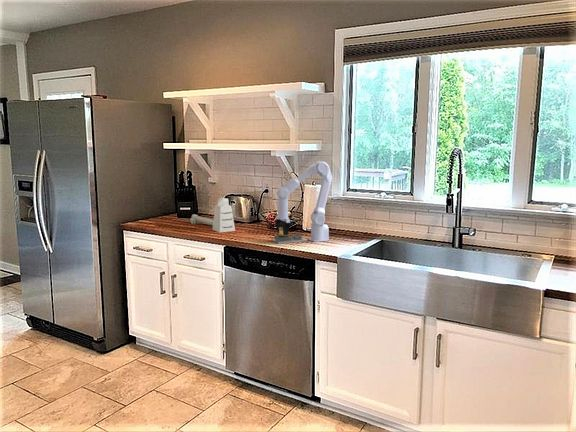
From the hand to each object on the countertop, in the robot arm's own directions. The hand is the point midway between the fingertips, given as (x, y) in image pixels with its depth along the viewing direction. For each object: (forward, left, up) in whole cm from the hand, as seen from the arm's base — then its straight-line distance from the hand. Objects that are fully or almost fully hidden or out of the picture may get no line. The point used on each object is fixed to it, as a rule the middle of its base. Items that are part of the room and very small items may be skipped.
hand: (282, 233), depth 265 cm
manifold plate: (-4, 0, -4) cm, 6 cm away
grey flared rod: (+26, -70, -5) cm, 74 cm away
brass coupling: (0, 0, -3) cm, 3 cm away
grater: (+20, -46, -5) cm, 50 cm away
